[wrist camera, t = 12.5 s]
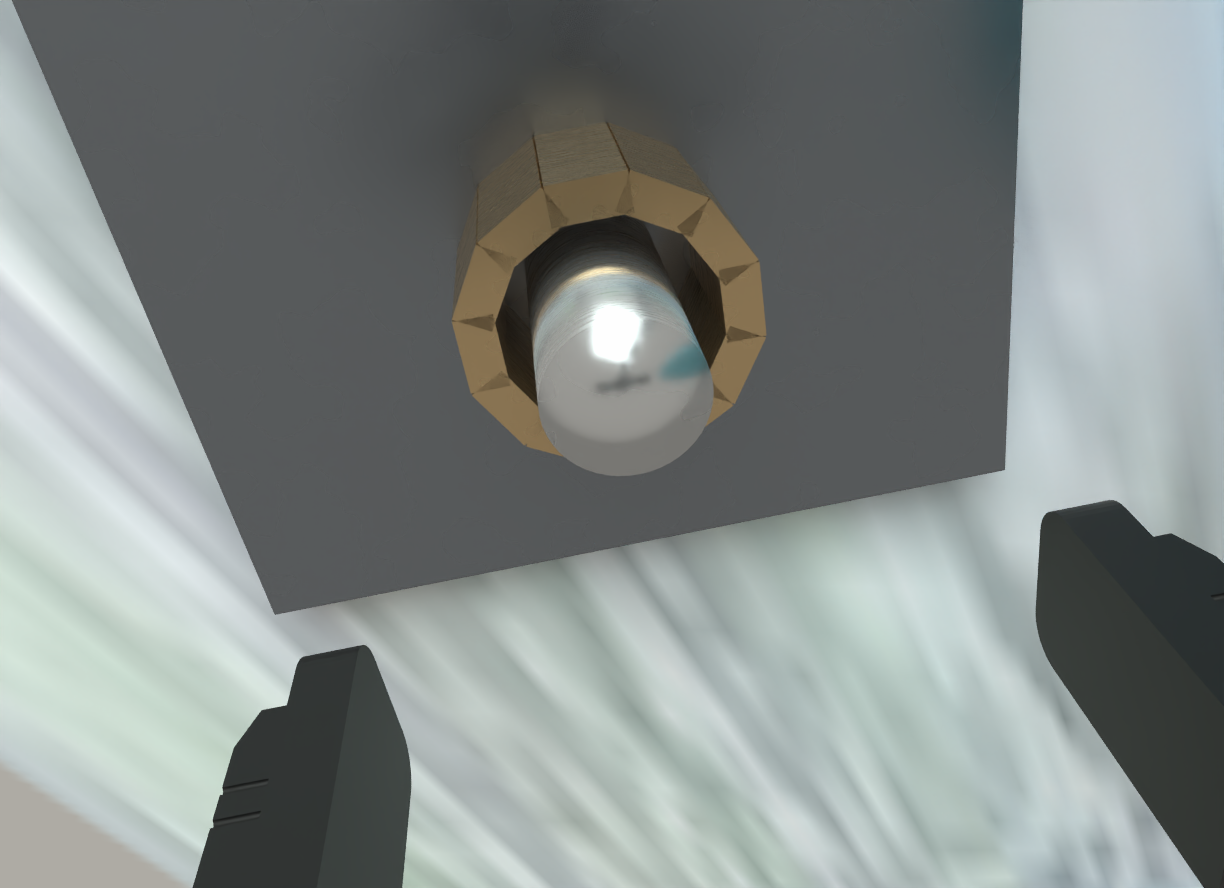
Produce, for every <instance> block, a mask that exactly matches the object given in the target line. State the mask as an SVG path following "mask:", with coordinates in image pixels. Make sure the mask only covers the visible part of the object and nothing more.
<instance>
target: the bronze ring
mask: <svg viewBox="0 0 1224 888" xmlns="http://www.w3.org/2000/svg"><path fill="white" fill-rule="evenodd" d="M534 138H535V139H534ZM534 138H533V137H531V138H530V139H529V140H528V141H527V142H526V143H525V144H523V145H522V146H521V147H520V148H519V149H518V150H517V151H516V152H514V153H513V154H512V155H511V156H510V157H509V158H508V159H507V160H505V161H504V162H503V163H502V164H501V165H500V166H499V167H498V168H496V169H495V170H494V171H493V172H492V173H491V174H490V175H489V176H487V177H486V178H485V179H484V180H483V181H482V182H481V183H480V184H479V186H477V189H476V192H475V195H474V199H473V202H472V205H471V208H470V212H469V215H468V218H467V221H466V224H465V228H464V231H463V234H462V237H461V240H460V244H459V247H458V250H457V259H456V272H455V285H454V298H453V311H452V325H453V329H454V332H455V336H456V340H457V344H458V347H459V351H460V355H461V359H462V362H463V366H464V370H465V374H466V378H467V381H468V385H469V389H470V393H472V396H473V397H474V398H475V399H476V400H477V401H478V402H479V403H480V404H481V405H482V406H483V407H484V408H486V409H487V410H488V411H489V412H490V413H491V414H492V415H493V416H494V417H495V418H496V419H497V420H498V421H499V422H500V423H501V424H502V425H503V426H504V427H505V428H506V429H508V430H509V431H510V432H511V433H512V434H513V435H514V436H515V437H516V438H517V439H518V440H519V441H520V442H521V443H522V444H523V445H526V447H530V448H533V449H537V450H541V451H545V452H548V453H552V454H556V455H559V456H563V455H562V454H561V453H559V451H558V450H557V449H556V448H555V447H554V446H553V445H552V443H551V442H550V440H549V439H548V437H547V435H546V433H545V431H544V429H543V427H542V423H541V420H540V416H539V410H538V400H537V390H536V380H535V369H534V359H533V348H532V338H531V329H530V328H529V327H528V326H527V325H526V324H525V323H524V322H523V321H522V320H521V319H520V318H519V317H518V315H517V314H516V313H515V312H514V311H513V310H512V309H511V308H510V307H509V306H508V305H507V304H506V303H505V300H504V296H505V293H506V290H507V287H508V284H509V281H510V278H511V275H512V272H513V269H514V267H515V266H516V265H517V264H519V263H520V262H521V261H522V260H523V259H525V258H526V257H527V256H528V255H529V254H530V253H532V252H533V251H534V250H535V249H536V248H537V247H539V246H540V245H541V244H542V243H543V242H544V241H546V240H547V239H548V238H549V237H550V236H552V235H553V234H554V233H555V232H556V231H557V230H559V229H560V228H561V227H563V226H568V225H573V224H579V223H584V222H589V221H594V220H599V219H604V218H609V217H614V216H619V215H628V216H630V217H633V218H636V219H639V220H642V221H645V222H648V223H651V224H654V225H657V226H660V227H663V228H666V229H669V230H672V231H675V232H678V233H680V234H683V235H684V236H685V237H686V239H687V240H688V247H689V254H690V262H691V268H690V270H689V272H688V275H687V277H686V279H685V282H684V284H683V286H682V289H681V291H680V294H679V296H678V299H679V301H680V303H681V305H682V308H683V310H684V312H685V314H686V317H687V319H688V321H689V323H690V326H691V328H692V330H693V332H694V334H695V337H696V339H697V341H698V343H699V346H700V348H701V350H702V352H703V355H704V357H705V359H706V361H707V364H708V366H709V369H710V372H711V375H712V380H713V391H714V396H713V405H712V409H711V413H710V416H709V419H708V421H707V424H706V426H707V425H708V424H710V423H711V422H712V421H714V420H715V419H716V418H718V417H719V416H720V415H722V414H723V413H724V412H726V411H727V410H728V409H730V408H731V407H732V406H733V404H735V402H736V400H737V398H738V396H739V394H740V392H741V390H742V388H743V385H744V383H745V381H746V379H747V377H748V375H749V373H750V371H751V369H752V366H753V364H754V362H755V360H756V358H757V356H758V354H759V352H760V349H761V347H762V345H763V343H764V341H765V339H766V324H765V314H764V303H763V293H762V282H761V272H760V262H759V259H758V258H757V256H756V255H755V254H754V252H753V251H752V249H751V248H750V246H749V245H748V244H747V242H746V241H745V239H744V238H743V236H742V235H741V234H740V232H739V231H738V229H737V228H736V226H735V225H734V223H733V222H732V221H731V219H730V218H729V216H728V215H727V213H726V212H725V211H724V209H723V208H722V206H721V205H720V203H719V202H718V200H717V199H716V198H715V197H714V195H713V194H712V193H711V192H710V190H709V189H708V188H707V186H706V185H705V184H704V183H703V181H702V180H701V179H700V178H699V176H698V175H697V174H696V173H695V171H694V170H693V169H692V167H691V166H690V165H689V164H688V162H687V161H686V160H685V159H684V157H683V156H682V155H681V153H680V152H679V151H678V150H677V148H675V147H674V146H672V145H669V144H666V143H664V142H661V141H658V140H655V139H653V138H650V137H647V136H644V135H642V134H639V133H636V132H634V131H631V130H628V129H625V128H623V127H620V126H617V125H614V124H612V123H609V122H607V124H606V122H603V123H597V124H592V125H587V126H582V127H577V128H572V129H567V130H561V131H556V132H551V133H546V134H541V135H536V136H534ZM732 403H733V404H732ZM706 426H705V427H706ZM563 457H564V456H563Z"/></svg>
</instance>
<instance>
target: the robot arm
mask: <svg viewBox="0 0 1224 888" xmlns="http://www.w3.org/2000/svg"><path fill="white" fill-rule="evenodd" d="M1036 623H1037V629H1038V634H1039V637H1040V641H1041V644H1042V647H1043V650H1044V652H1045V654H1046V657H1047V658H1048V660H1049V662H1050V664H1051V666H1052V667H1053V669H1054V670H1055V672H1056V673H1057V675H1058V676H1059V677H1060V679H1061V680H1062V682H1063V683H1064V685H1065V686H1066V688H1067V689H1068V691H1069V692H1070V693H1071V695H1072V696H1073V698H1074V699H1075V701H1076V702H1077V704H1078V705H1079V707H1080V708H1081V709H1082V711H1083V712H1084V714H1085V715H1086V717H1087V718H1088V720H1089V721H1090V723H1091V724H1092V726H1093V727H1094V728H1095V730H1096V731H1097V733H1098V734H1099V736H1100V737H1101V739H1102V740H1103V742H1104V743H1105V744H1106V746H1107V747H1108V749H1109V750H1110V752H1111V753H1112V755H1113V756H1114V758H1115V759H1116V760H1117V762H1118V763H1119V765H1120V766H1121V768H1122V769H1123V771H1124V772H1125V774H1126V775H1127V776H1128V778H1129V779H1130V781H1131V782H1132V784H1133V785H1134V787H1135V788H1136V790H1137V791H1138V793H1139V794H1140V795H1141V797H1142V798H1143V800H1144V801H1145V803H1146V804H1147V806H1148V807H1149V809H1150V810H1151V811H1152V813H1153V814H1154V816H1155V817H1156V819H1157V820H1158V822H1159V823H1160V825H1161V826H1162V827H1163V829H1164V830H1165V832H1166V833H1167V835H1168V836H1169V838H1170V839H1171V841H1172V842H1173V843H1174V845H1175V846H1176V848H1177V849H1178V851H1179V852H1180V854H1181V855H1182V857H1183V858H1184V860H1185V861H1186V862H1187V864H1188V865H1189V867H1190V868H1191V870H1192V871H1193V873H1194V874H1195V876H1196V877H1197V878H1198V880H1199V881H1200V883H1201V884H1202V886H1203V887H1204V888H1224V563H1223V562H1222V561H1221V560H1219V559H1218V558H1217V557H1216V556H1214V555H1212V554H1210V553H1208V552H1206V551H1204V550H1202V549H1201V548H1199V547H1197V546H1195V545H1193V544H1191V543H1189V542H1187V541H1185V540H1183V539H1181V538H1179V537H1177V536H1175V535H1173V534H1166V535H1161V536H1156V537H1153V536H1152V535H1151V534H1150V533H1149V532H1148V531H1147V530H1146V529H1145V528H1144V527H1143V526H1142V525H1141V524H1140V523H1139V522H1138V521H1137V519H1136V518H1135V517H1134V516H1133V515H1132V514H1131V513H1130V512H1129V511H1128V510H1127V509H1126V508H1125V507H1124V506H1123V505H1122V504H1120V503H1119V502H1117V501H1114V500H1108V501H1103V502H1098V503H1093V504H1088V505H1082V506H1077V507H1072V508H1067V509H1062V510H1057V511H1052V512H1048V513H1046V515H1045V516H1044V517H1043V520H1042V523H1041V530H1040V546H1039V563H1038V580H1037V597H1036ZM222 788H223V795H220V797H219V800H218V804H217V807H216V810H215V814H214V817H213V823H214V826H213V828H211V829H210V831H209V834H208V837H207V841H206V844H205V848H204V851H203V854H202V858H201V861H200V865H199V868H198V871H197V875H196V878H195V882H194V885H193V888H402V883H403V872H404V861H405V850H406V839H407V828H408V818H409V807H410V796H411V768H410V760H409V753H408V748H407V744H406V740H405V737H404V734H403V731H402V728H401V726H400V723H399V721H398V718H397V715H396V713H395V710H394V708H393V705H392V703H391V700H390V697H389V695H388V692H387V690H386V687H385V684H384V682H383V679H382V677H381V674H380V671H379V669H378V666H377V664H376V661H375V659H374V656H373V654H372V652H371V650H370V649H369V648H368V647H367V646H366V645H361V646H356V647H351V648H346V649H341V650H336V651H330V652H325V653H320V654H315V655H310V656H305V657H302V658H301V659H300V660H299V662H298V664H297V667H296V671H295V675H294V679H293V683H292V687H291V691H290V695H289V699H288V703H287V705H286V706H281V707H276V708H271V709H266V710H262V711H261V712H260V713H259V715H258V716H257V717H256V719H255V720H254V721H253V723H252V724H251V726H250V727H249V728H248V730H247V731H246V732H245V734H244V735H243V736H242V738H241V739H240V740H239V742H238V743H237V744H236V746H235V747H234V749H233V753H232V756H231V759H230V763H229V766H228V770H227V773H226V776H225V780H224V783H223V787H222Z"/></svg>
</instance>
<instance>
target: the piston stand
mask: <svg viewBox="0 0 1224 888" xmlns="http://www.w3.org/2000/svg"><path fill="white" fill-rule="evenodd" d="M12 2H13V4H14V6H15V9H16V11H17V13H18V16H19V18H20V20H21V23H22V25H23V27H24V30H25V32H26V34H27V37H28V39H29V41H30V44H31V46H32V48H33V51H34V53H35V55H36V58H37V60H38V62H39V65H40V67H41V69H42V72H43V74H44V76H45V79H46V81H47V83H48V86H49V88H50V90H51V93H52V95H53V97H54V100H55V102H56V105H57V107H58V109H59V112H60V114H61V116H62V119H63V121H64V123H65V126H66V128H67V130H68V133H69V135H70V137H71V140H72V142H73V144H74V147H75V149H76V151H77V154H78V156H79V158H80V161H81V163H82V165H83V168H84V170H85V172H86V175H87V177H88V179H89V182H90V184H91V186H92V189H93V191H94V193H95V196H96V198H97V200H98V203H99V205H100V207H101V210H102V212H103V214H104V217H105V219H106V221H107V224H108V226H109V228H110V231H111V233H112V235H113V238H114V240H115V242H116V245H117V247H118V249H119V252H120V254H121V256H122V259H123V261H124V263H125V266H126V268H127V270H128V273H129V275H130V277H131V280H132V282H133V284H134V287H135V289H136V291H137V294H138V296H139V298H140V301H141V303H142V305H143V308H144V310H145V312H146V315H147V317H148V319H149V322H150V324H151V326H152V329H153V331H154V333H155V336H156V338H157V340H158V343H159V345H160V347H161V350H162V352H163V354H164V357H165V359H166V362H167V364H168V366H169V369H170V371H171V373H172V376H173V378H174V380H175V383H176V385H177V387H178V390H179V392H180V394H181V397H182V399H183V401H184V404H185V406H186V408H187V411H188V413H189V415H190V418H191V420H192V422H193V425H194V427H195V429H196V432H197V434H198V436H199V439H200V441H201V443H202V446H203V448H204V450H205V453H206V455H207V457H208V460H209V462H210V464H211V467H212V469H213V471H214V474H215V476H216V478H217V481H218V483H219V485H220V488H221V490H222V492H223V495H224V497H225V499H226V502H227V504H228V506H229V509H230V511H231V513H232V516H233V518H234V520H235V523H236V525H237V527H238V530H239V532H240V534H241V537H242V539H243V541H244V544H245V546H246V548H247V551H248V553H249V555H250V558H251V560H252V562H253V565H254V567H255V569H256V572H257V574H258V576H259V579H260V581H261V583H262V586H263V588H264V590H265V593H266V595H267V597H268V600H269V602H270V604H271V607H272V609H273V612H274V614H275V615H276V614H281V613H286V612H291V611H296V610H301V609H306V608H311V607H316V606H321V605H326V604H331V603H336V602H341V601H346V600H352V599H357V598H362V597H367V596H372V595H377V594H382V593H387V592H392V591H397V590H402V589H407V588H412V587H417V586H422V585H427V584H432V583H437V582H442V581H447V580H452V579H457V578H462V577H467V576H473V575H478V574H483V573H488V572H493V571H498V570H503V569H508V568H513V567H518V566H523V565H528V564H533V563H538V562H543V561H548V560H553V559H558V558H563V557H568V556H573V555H578V554H583V553H588V552H594V551H599V550H604V549H609V548H614V547H619V546H624V545H629V544H634V543H639V542H644V541H649V540H654V539H659V538H664V537H669V536H674V535H679V534H684V533H689V532H694V531H699V530H704V529H710V528H715V527H720V526H725V525H730V524H735V523H740V522H745V521H750V520H755V519H760V518H765V517H770V516H775V515H780V514H785V513H790V512H795V511H800V510H805V509H810V508H815V507H820V506H825V505H831V504H836V503H841V502H846V501H851V500H856V499H861V498H866V497H871V496H876V495H881V494H886V493H891V492H896V491H901V490H906V489H911V488H916V487H921V486H926V485H931V484H936V483H941V482H946V481H952V480H957V479H962V478H967V477H972V476H977V475H982V474H987V473H992V472H997V471H1002V470H1005V452H1006V426H1007V400H1008V374H1009V348H1010V322H1011V295H1012V269H1013V243H1014V217H1015V191H1016V165H1017V139H1018V113H1019V87H1020V61H1021V35H1022V9H1023V0H12ZM603 122H606V124H607V122H609V123H612V124H614V125H617V126H620V127H623V128H625V129H628V130H631V131H634V132H636V133H639V134H642V135H644V136H647V137H650V138H653V139H655V140H658V141H661V142H664V143H666V144H669V145H672V146H674V147H675V148H677V150H678V151H679V152H680V153H681V155H682V156H683V157H684V159H685V160H686V161H687V162H688V164H689V165H690V166H691V167H692V169H693V170H694V171H695V173H696V174H697V175H698V176H699V178H700V179H701V180H702V181H703V183H704V184H705V185H706V186H707V188H708V189H709V190H710V192H711V193H712V194H713V195H714V197H715V198H716V199H717V200H718V202H719V203H720V205H721V206H722V208H723V209H724V211H725V212H726V213H727V215H728V216H729V218H730V219H731V221H732V222H733V223H734V225H735V226H736V228H737V229H738V231H739V232H740V234H741V235H742V236H743V238H744V239H745V241H746V242H747V244H748V245H749V246H750V248H751V249H752V251H753V252H754V254H755V255H756V256H757V258H758V259H759V262H760V272H761V282H762V293H763V303H764V314H765V324H766V339H765V341H764V343H763V345H762V347H761V349H760V352H759V354H758V356H757V358H756V360H755V362H754V364H753V366H752V369H751V371H750V373H749V375H748V377H747V379H746V381H745V383H744V385H743V388H742V390H741V392H740V394H739V396H738V398H737V400H736V402H735V404H733V403H732V404H733V406H732V407H731V408H730V409H728V410H727V411H726V412H724V413H723V414H722V415H720V416H719V417H718V418H716V419H715V420H714V421H712V422H711V423H710V424H708V425H707V426H706V424H707V421H708V419H709V416H710V413H711V409H712V405H713V396H714V391H713V380H712V375H711V372H710V369H709V366H708V364H707V361H706V359H705V357H704V355H703V352H702V350H701V348H700V346H699V343H698V341H697V339H696V337H695V334H694V332H693V330H692V328H691V326H690V323H689V321H688V319H687V317H686V314H685V312H684V310H683V308H682V305H681V303H680V301H679V299H678V296H679V294H680V291H681V289H682V286H683V284H684V282H685V279H686V277H687V275H688V272H689V270H690V268H691V262H690V254H689V247H688V240H687V239H686V237H685V236H684V235H683V234H680V233H678V232H675V231H672V230H669V229H666V228H663V227H660V226H657V225H654V224H651V223H648V222H645V221H642V220H639V219H636V218H633V217H630V216H628V215H619V216H614V217H609V218H604V219H599V220H594V221H589V222H584V223H579V224H573V225H568V226H563V227H561V228H560V229H559V230H557V231H556V232H555V233H554V234H553V235H552V236H550V237H549V238H548V239H547V240H546V241H544V242H543V243H542V244H541V245H540V246H539V247H537V248H536V249H535V250H534V251H533V252H532V253H530V254H529V255H528V256H527V257H526V258H525V259H523V260H522V261H521V262H520V263H519V264H517V265H516V266H515V267H514V269H513V272H512V275H511V278H510V281H509V284H508V287H507V290H506V293H505V296H504V300H505V303H506V304H507V305H508V306H509V307H510V308H511V309H512V310H513V311H514V312H515V313H516V314H517V315H518V317H519V318H520V319H521V320H522V321H523V322H524V323H525V324H526V325H527V326H528V327H529V328H530V329H531V338H532V348H533V359H534V369H535V380H536V390H537V400H538V410H539V416H540V420H541V423H542V427H543V429H544V431H545V433H546V435H547V437H548V439H549V440H550V442H551V443H552V445H553V446H554V447H555V448H556V449H557V450H558V451H559V453H561V454H562V455H563V456H564V457H563V456H559V455H556V454H552V453H548V452H545V451H541V450H537V449H533V448H530V447H526V445H523V444H522V443H521V442H520V441H519V440H518V439H517V438H516V437H515V436H514V435H513V434H512V433H511V432H510V431H509V430H508V429H506V428H505V427H504V426H503V425H502V424H501V423H500V422H499V421H498V420H497V419H496V418H495V417H494V416H493V415H492V414H491V413H490V412H489V411H488V410H487V409H486V408H484V407H483V406H482V405H481V404H480V403H479V402H478V401H477V400H476V399H475V398H474V397H473V396H472V393H470V389H469V385H468V381H467V378H466V374H465V370H464V366H463V362H462V359H461V355H460V351H459V347H458V344H457V340H456V336H455V332H454V329H453V325H452V311H453V298H454V285H455V272H456V259H457V250H458V247H459V244H460V240H461V237H462V234H463V231H464V228H465V224H466V221H467V218H468V215H469V212H470V208H471V205H472V202H473V199H474V195H475V192H476V189H477V186H479V184H480V183H481V182H482V181H483V180H484V179H485V178H486V177H487V176H489V175H490V174H491V173H492V172H493V171H494V170H495V169H496V168H498V167H499V166H500V165H501V164H502V163H503V162H504V161H505V160H507V159H508V158H509V157H510V156H511V155H512V154H513V153H514V152H516V151H517V150H518V149H519V148H520V147H521V146H522V145H523V144H525V143H526V142H527V141H528V140H529V139H530V138H531V137H533V138H534V136H536V135H541V134H546V133H551V132H556V131H561V130H567V129H572V128H577V127H582V126H587V125H592V124H597V123H603ZM534 139H535V138H534ZM705 426H706V427H705Z"/></svg>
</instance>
